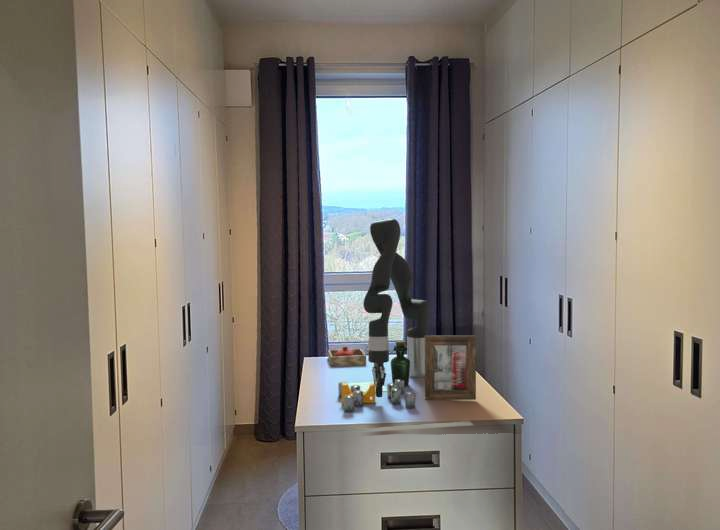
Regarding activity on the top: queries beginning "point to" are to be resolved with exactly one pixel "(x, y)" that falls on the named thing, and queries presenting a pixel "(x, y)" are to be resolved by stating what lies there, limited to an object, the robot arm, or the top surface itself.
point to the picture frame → (450, 367)
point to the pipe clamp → (366, 395)
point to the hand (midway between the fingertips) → (379, 396)
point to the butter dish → (345, 352)
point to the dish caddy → (347, 358)
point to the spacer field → (392, 393)
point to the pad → (365, 386)
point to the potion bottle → (400, 364)
